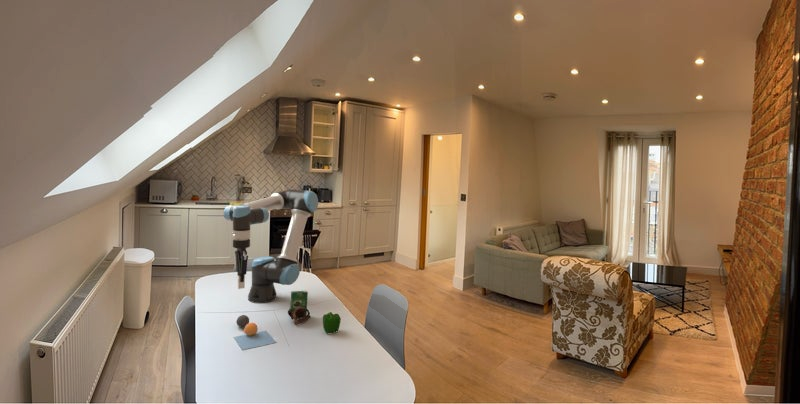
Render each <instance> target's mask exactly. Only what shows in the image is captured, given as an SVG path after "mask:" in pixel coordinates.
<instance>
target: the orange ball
mask: <svg viewBox="0 0 800 404" xmlns="http://www.w3.org/2000/svg"><path fill="white" fill-rule="evenodd" d="M256 332H258V324H257V323H255V322H249V323H248V324H247V325H246V326H245V327H244V334H245V335H246V334H247V335H249V336H252V335H254V334H256Z"/></svg>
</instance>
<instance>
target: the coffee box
mask: <svg viewBox="0 0 800 404" xmlns="http://www.w3.org/2000/svg"><path fill="white" fill-rule="evenodd" d="M308 293H309V292H308V291H307V290H294V291H293V290H292V291H290V302H289V303H290V305H289V307H290V308H289V309H294V310H296V309H297V308H300V307H304V308H306V309H308V295H309V294H308ZM296 312H297V311H296ZM304 314H306V315H307V314H308V313H307V311H305V313H304Z"/></svg>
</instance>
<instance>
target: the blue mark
mask: <svg viewBox="0 0 800 404" xmlns="http://www.w3.org/2000/svg"><path fill="white" fill-rule="evenodd" d="M233 339H234V340H235V342H236V343H237V345H238V346H239V348H240V349H241V351H245V350H250V349H254V348H258V347H259V348H260V347H263V346H267V345H272V344H276V343H277V341H276V340H275V339H274V338H273V336H272V335H271V334H270V332H268V331H267V330H261V331H257V332H256V334H254V335H252V336H249V335H247V334H246V333H245V334H241V335H236V336H233Z"/></svg>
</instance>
